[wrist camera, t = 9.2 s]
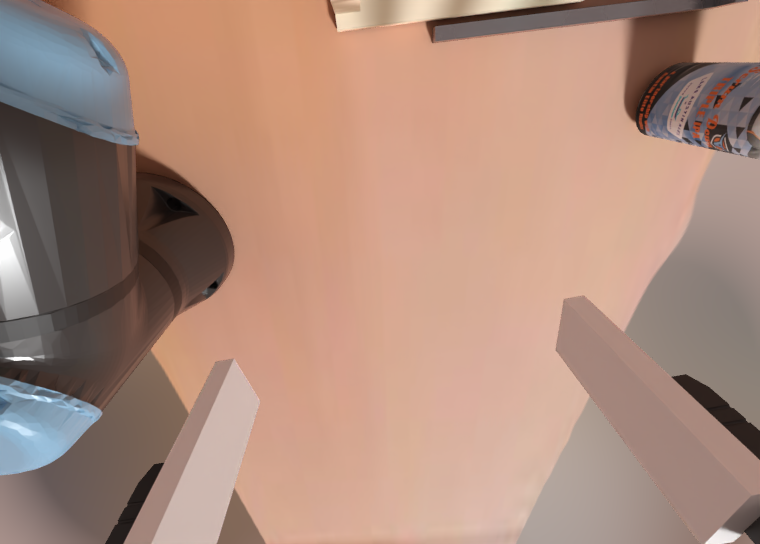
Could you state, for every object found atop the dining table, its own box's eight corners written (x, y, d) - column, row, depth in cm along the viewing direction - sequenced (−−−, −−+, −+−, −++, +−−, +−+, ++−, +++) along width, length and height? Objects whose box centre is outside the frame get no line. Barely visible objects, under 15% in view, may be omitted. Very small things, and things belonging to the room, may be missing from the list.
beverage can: (648, 57, 28) (812, 43, 18) (717, 72, 29) (911, 65, 19) (612, 132, 31) (734, 155, 21) (675, 143, 32) (821, 170, 22)
